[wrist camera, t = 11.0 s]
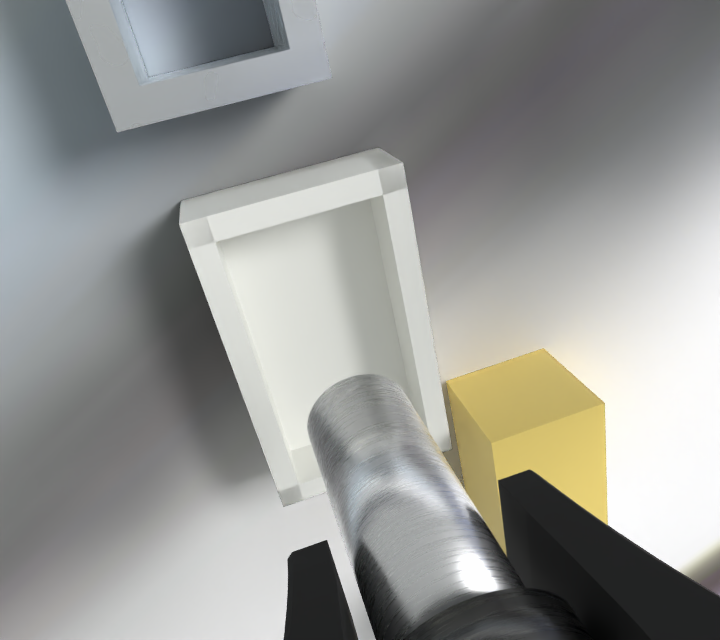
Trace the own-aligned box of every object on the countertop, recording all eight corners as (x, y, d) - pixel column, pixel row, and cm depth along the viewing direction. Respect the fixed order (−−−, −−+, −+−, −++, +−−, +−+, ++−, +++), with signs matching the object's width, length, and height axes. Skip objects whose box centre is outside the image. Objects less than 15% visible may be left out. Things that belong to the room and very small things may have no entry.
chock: (541, 346, 23) (604, 403, 19) (551, 463, 26) (607, 530, 22) (444, 379, 22) (491, 443, 19) (465, 494, 25) (509, 568, 22)
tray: (378, 147, 18) (403, 162, 16) (428, 410, 22) (452, 449, 20) (181, 200, 17) (179, 224, 15) (275, 461, 22) (283, 506, 20)
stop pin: (414, 339, 13) (626, 621, 7) (433, 448, 15) (619, 752, 9) (272, 386, 12) (369, 732, 6) (308, 493, 14) (412, 849, 8)
